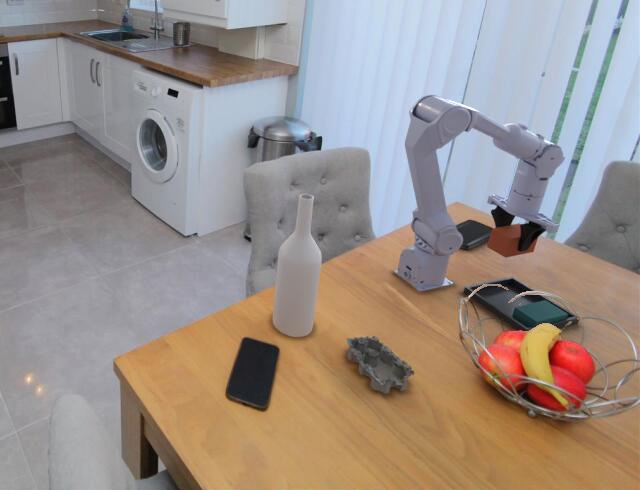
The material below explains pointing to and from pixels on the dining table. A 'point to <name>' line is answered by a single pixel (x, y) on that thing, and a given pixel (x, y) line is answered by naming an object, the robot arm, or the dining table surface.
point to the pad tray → (499, 298)
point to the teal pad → (538, 313)
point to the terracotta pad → (507, 241)
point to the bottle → (297, 276)
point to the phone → (473, 233)
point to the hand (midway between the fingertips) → (511, 244)
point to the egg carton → (379, 364)
